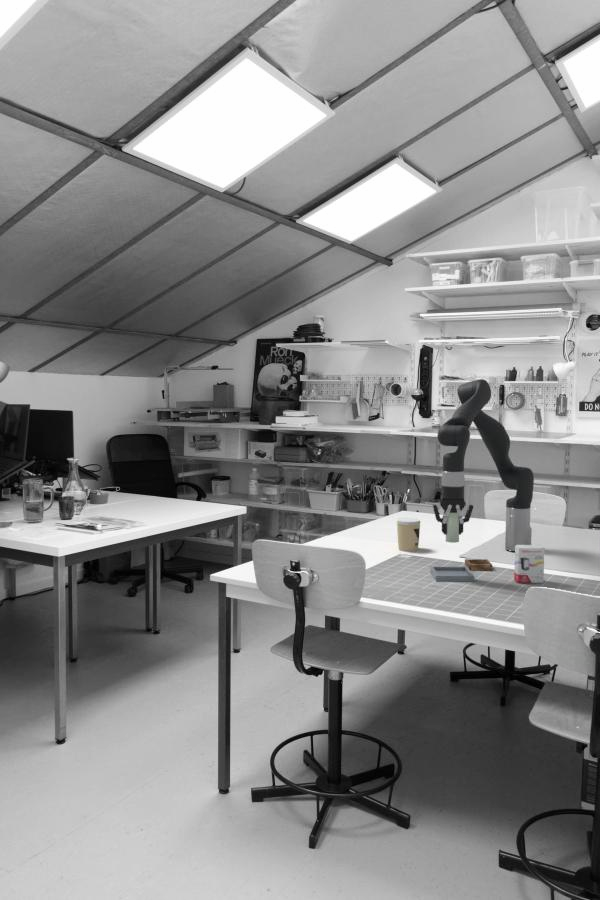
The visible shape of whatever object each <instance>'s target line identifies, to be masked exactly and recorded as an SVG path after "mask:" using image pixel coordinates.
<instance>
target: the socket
mask: <svg viewBox="0 0 600 900" xmlns="http://www.w3.org/2000/svg"><path fill="white" fill-rule="evenodd" d="M464 566H465V567H468V569H469V570H470V571H493V564H492V562H490V560H488V559H486V558H485V559H484V558H483V559H481V558H479V559H478V558H475V559H474V558H465V559H464Z"/></svg>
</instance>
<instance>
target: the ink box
mask: <svg viewBox="0 0 600 900" xmlns="http://www.w3.org/2000/svg"><path fill="white" fill-rule="evenodd" d="M513 566H514V570H513V571H514V572H513V573H514V574H513V576H514V577H513V579H514V581H516V582H517V583H520V584H521V583H522V584H523V583H525V584H527V583H528V584H529V583H530V584H535V583H536V584H537V583H539V584H540V583H541V584H542V583H544V581H545V580H544V578H545V577H544V576H545V547H544V546H542V545H540V544H539V545H538V544H531V545H516V546H515V552H514V565H513Z"/></svg>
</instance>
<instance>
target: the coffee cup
mask: <svg viewBox="0 0 600 900" xmlns="http://www.w3.org/2000/svg"><path fill="white" fill-rule="evenodd" d="M396 525H397V526H396V527H397V544H398V545H397V547H398V551H401V552H408V553H409V552H410V553H412V552H417V551H418V550H419V546H420V545H419V542H420V533H421V532H420V529H421V528H420V527H421V520H420V519H418V518H413V517H401V518H398V519H397V520H396Z"/></svg>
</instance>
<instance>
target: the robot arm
mask: <svg viewBox="0 0 600 900" xmlns="http://www.w3.org/2000/svg"><path fill="white" fill-rule="evenodd" d="M457 397H458V399H459V403H461V405H459V406H458V408H457V409H456V410H455V411H454V412H453V414H452V415H451V418H450V419H448V420H446V422H444V423H443V424H442V425H441V426H440V427H439V429H438V431H437V441H438V442H439V444H440V445H442V446H444V447H445V446H446V447H457V448H456V450H455V451H454V452H448V453H444V455H443V456H442V475H441V499H440V502H439V503H433V504H432V508H433V514H434V516H435V520H436V521H437V522H438V523H441V533H442V534H443V535H444V536H446V534H447V524H446V521H447V518H448V516H449V513H458V517H459V536H460V535H462V534H463V533H464V524H465V523H469V521H470V519H471V516H472V512H473V509H474V505H473V504H471V503H467V502H466V501H465V485H466V482H465V480H466V479H465V457H466V451H467V448H468V445H469V443H470V439H471V432H470V428H471V425H472V423H473V424H474V426H475V427H476V429H477V431H478V434H479V435H480V438H481V439H482V441H483V444H485V445H484V446H485V447H486V448H487V450H488V452H489V454H490V456H491V459H492V460H493V462H494V464H495V467H496V468H497V472H498V474H499V477H500V479H501V481H502V484H503V485H504V486H505V487H506V488H508V489H510V490H514V491H516V492H515V496H513V497H511V498H508V499H507V500H506V503H505V542H504V549H505V550H506V549H507V550H511V551H515V546H516V545H532V534H533V533H532V530H533V529H532V527H531V504H532V501H533V497H534V484H535V477H534V473H533V470H532V469H531V468H529V467H527V466H526V467H525V466H516V465H514V463H513V462H512V461H511V460H512V459H511V458H510V455H509V452H510V448H511V439H510V436H509V434H508V432H507V430H506V428H505V426H504V425H503V424H502V423H501V422H500V421H499V420H497V419H495V418H494V417H492V416H490V415H489V414H487V413H486V412H484V411H483V409H484V408H485V406H486V405H487V404H488V403H489V402H490V401H491V399H492V389H491V386H490V383H489V382H488V381H487V380H486V379H483V378H482V379H475V380H471V381H469V382H465V383H462V384H459V386H458V387H457ZM440 507H441V508H442V510H443V513H442V517H441V516H440V512H439V511H440V509H441V508H440ZM464 508H465V511H466V512H465V515H464V517H463V513H462V511H463V509H464ZM507 550H506V551H507ZM511 551H510V552H511Z"/></svg>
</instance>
